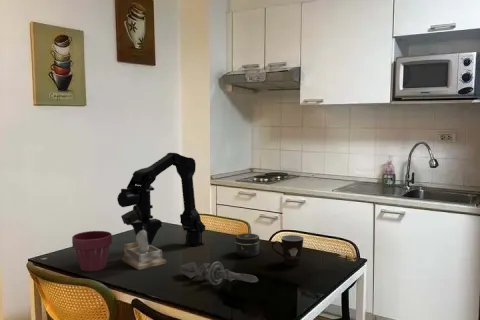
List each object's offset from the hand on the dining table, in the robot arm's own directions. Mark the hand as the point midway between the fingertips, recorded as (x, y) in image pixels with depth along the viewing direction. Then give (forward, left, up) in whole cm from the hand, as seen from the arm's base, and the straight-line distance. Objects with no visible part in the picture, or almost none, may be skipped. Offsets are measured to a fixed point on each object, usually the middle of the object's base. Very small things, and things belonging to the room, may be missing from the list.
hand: (144, 242), depth 180 cm
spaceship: (-8, +38, -8) cm, 39 cm away
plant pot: (+18, -7, -8) cm, 21 cm away
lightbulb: (0, 0, -6) cm, 6 cm away
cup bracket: (0, 0, -8) cm, 8 cm away
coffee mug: (-43, +37, -8) cm, 57 cm away
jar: (-38, +18, -8) cm, 43 cm away
